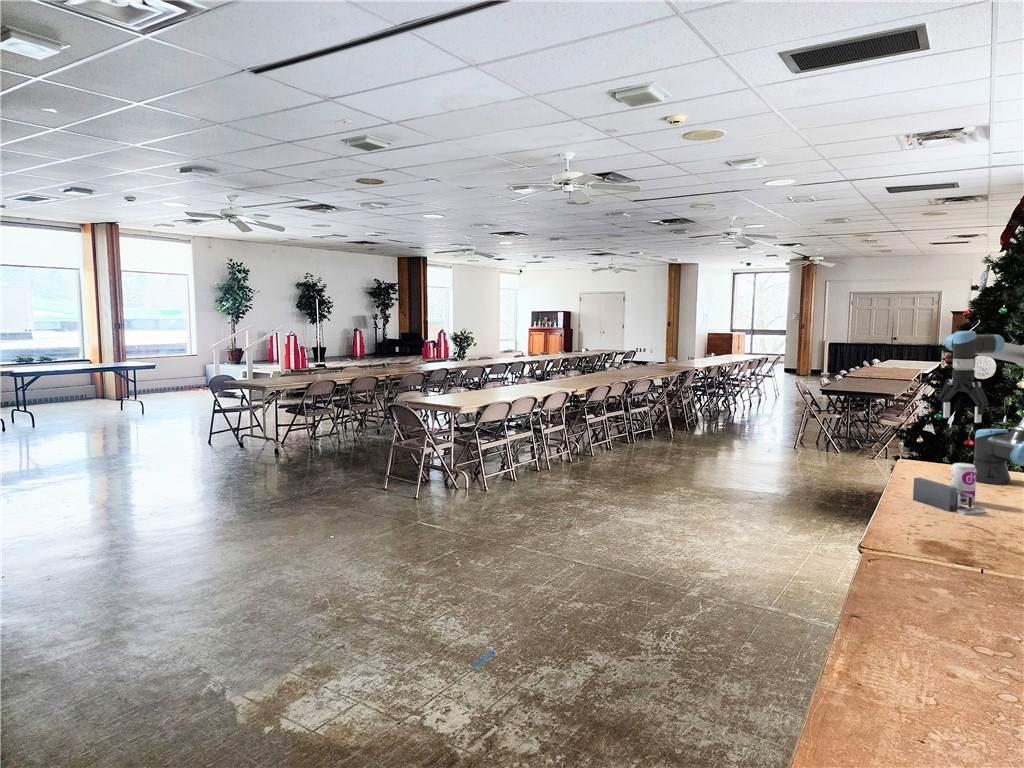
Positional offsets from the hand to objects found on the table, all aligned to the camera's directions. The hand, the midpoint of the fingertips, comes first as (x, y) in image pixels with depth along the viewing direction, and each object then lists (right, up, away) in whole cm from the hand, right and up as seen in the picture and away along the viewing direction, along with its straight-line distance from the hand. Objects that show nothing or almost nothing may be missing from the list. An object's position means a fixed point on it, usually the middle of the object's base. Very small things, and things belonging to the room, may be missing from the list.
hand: (961, 420), depth 265 cm
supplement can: (-7, -32, -10) cm, 35 cm away
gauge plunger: (-16, -32, -15) cm, 39 cm away
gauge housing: (-16, -33, -15) cm, 40 cm away
